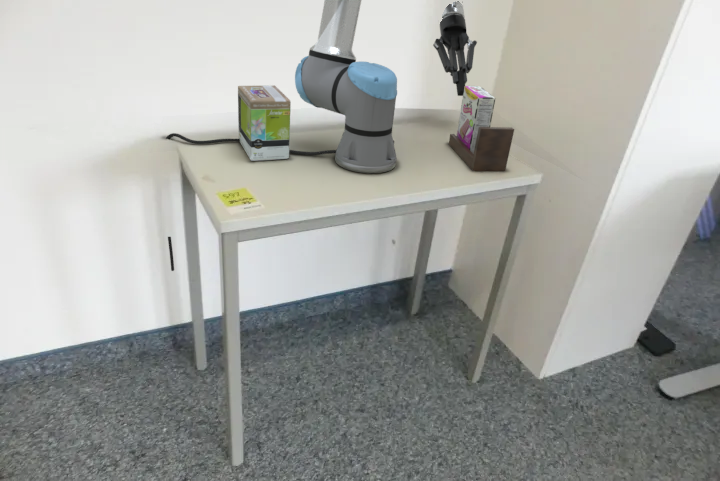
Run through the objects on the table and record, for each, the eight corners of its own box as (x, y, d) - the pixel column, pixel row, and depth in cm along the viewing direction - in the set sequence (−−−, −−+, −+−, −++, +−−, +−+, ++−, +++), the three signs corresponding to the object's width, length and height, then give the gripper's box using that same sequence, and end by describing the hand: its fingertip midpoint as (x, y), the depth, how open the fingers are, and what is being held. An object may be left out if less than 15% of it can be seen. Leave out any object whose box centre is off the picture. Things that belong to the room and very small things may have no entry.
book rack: (472, 170, 141) (480, 128, 135) (448, 144, 157) (454, 105, 152) (505, 171, 143) (514, 129, 137) (477, 144, 159) (485, 106, 154)
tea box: (290, 159, 138) (291, 100, 131) (250, 162, 134) (249, 101, 127) (275, 138, 150) (275, 83, 143) (237, 141, 146) (236, 84, 139)
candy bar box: (453, 143, 158) (463, 85, 150) (470, 143, 159) (481, 85, 151) (467, 158, 149) (478, 96, 141) (484, 158, 150) (497, 97, 141)
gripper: (434, 11, 160) (444, 85, 154) (477, 14, 162) (488, 87, 156) (427, 28, 167) (435, 99, 161) (468, 30, 169) (478, 100, 163)
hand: (461, 93), depth 159 cm, fingers closed
